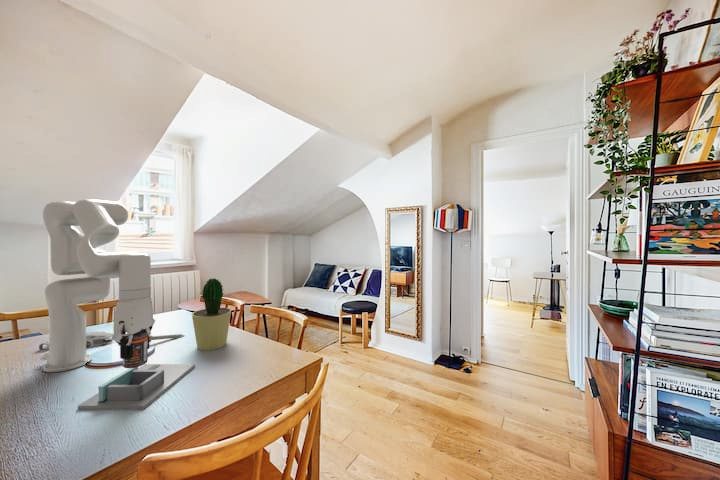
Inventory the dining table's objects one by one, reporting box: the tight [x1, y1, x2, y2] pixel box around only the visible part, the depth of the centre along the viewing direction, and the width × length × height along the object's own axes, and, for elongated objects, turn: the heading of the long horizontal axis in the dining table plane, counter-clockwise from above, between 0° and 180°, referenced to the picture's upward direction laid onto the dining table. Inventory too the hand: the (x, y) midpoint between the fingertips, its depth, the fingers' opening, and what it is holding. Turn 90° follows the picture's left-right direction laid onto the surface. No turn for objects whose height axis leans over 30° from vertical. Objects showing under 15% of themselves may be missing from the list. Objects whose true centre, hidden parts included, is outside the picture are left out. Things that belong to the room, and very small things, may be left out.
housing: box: [77, 363, 196, 410], centre depth 92 cm, size 18×26×5 cm
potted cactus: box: [191, 277, 232, 351], centre depth 125 cm, size 15×15×30 cm
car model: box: [38, 331, 114, 351], centre depth 125 cm, size 11×24×5 cm, turn 104°
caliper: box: [149, 333, 185, 343], centre depth 128 cm, size 20×1×6 cm, turn 144°
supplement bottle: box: [122, 329, 149, 369], centre depth 86 cm, size 6×6×11 cm
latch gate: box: [98, 367, 139, 401], centre depth 87 cm, size 1×13×4 cm, turn 1°
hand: (135, 352), depth 86 cm, fingers closed on supplement bottle, 6 cm apart
